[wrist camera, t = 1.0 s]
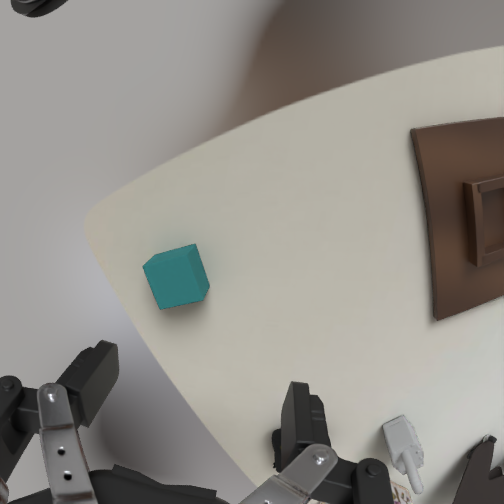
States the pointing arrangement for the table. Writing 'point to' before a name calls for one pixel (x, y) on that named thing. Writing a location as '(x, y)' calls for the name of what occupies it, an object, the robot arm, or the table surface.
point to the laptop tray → (481, 477)
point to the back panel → (463, 210)
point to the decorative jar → (397, 495)
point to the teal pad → (177, 277)
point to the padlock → (405, 450)
